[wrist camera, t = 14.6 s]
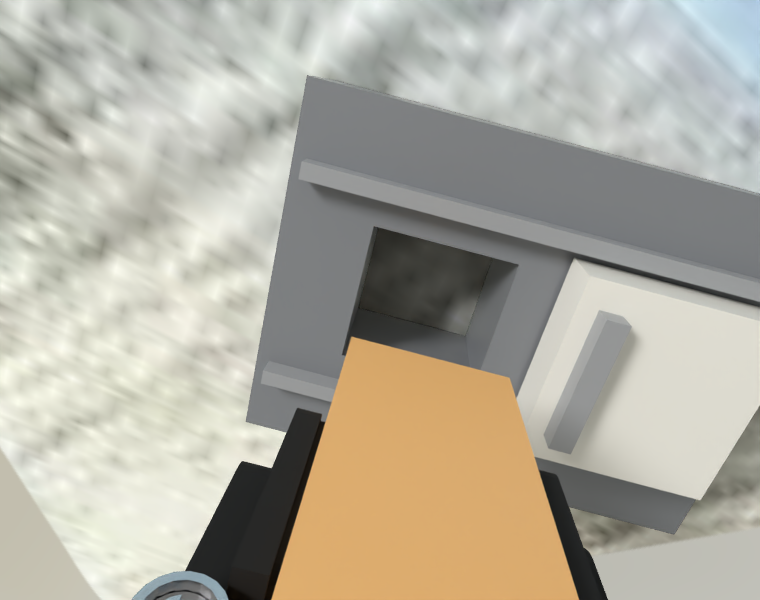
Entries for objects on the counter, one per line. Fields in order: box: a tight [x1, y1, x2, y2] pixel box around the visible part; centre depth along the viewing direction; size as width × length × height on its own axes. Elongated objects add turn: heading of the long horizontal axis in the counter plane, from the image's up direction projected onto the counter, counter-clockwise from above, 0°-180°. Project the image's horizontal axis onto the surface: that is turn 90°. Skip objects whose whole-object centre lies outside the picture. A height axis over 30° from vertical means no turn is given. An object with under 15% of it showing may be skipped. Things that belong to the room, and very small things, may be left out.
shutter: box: [516, 258, 760, 500], centre depth 18 cm, size 7×7×3 cm
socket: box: [246, 75, 760, 534], centre depth 22 cm, size 19×14×6 cm
